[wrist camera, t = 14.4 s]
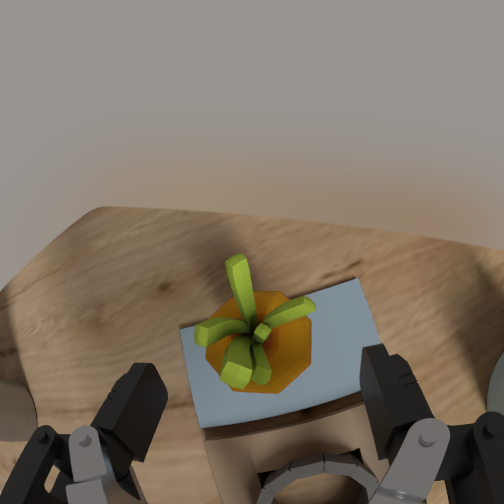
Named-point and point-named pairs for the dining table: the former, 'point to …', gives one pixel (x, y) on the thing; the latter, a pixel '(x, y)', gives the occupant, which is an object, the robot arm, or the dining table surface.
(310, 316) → the slate mat
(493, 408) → the mug
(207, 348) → the carrot
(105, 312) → the dining table surface
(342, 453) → the ring stand
